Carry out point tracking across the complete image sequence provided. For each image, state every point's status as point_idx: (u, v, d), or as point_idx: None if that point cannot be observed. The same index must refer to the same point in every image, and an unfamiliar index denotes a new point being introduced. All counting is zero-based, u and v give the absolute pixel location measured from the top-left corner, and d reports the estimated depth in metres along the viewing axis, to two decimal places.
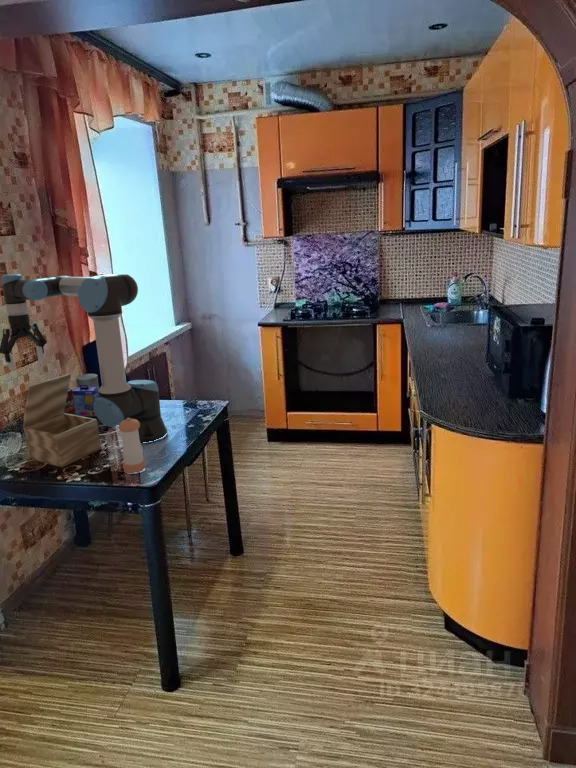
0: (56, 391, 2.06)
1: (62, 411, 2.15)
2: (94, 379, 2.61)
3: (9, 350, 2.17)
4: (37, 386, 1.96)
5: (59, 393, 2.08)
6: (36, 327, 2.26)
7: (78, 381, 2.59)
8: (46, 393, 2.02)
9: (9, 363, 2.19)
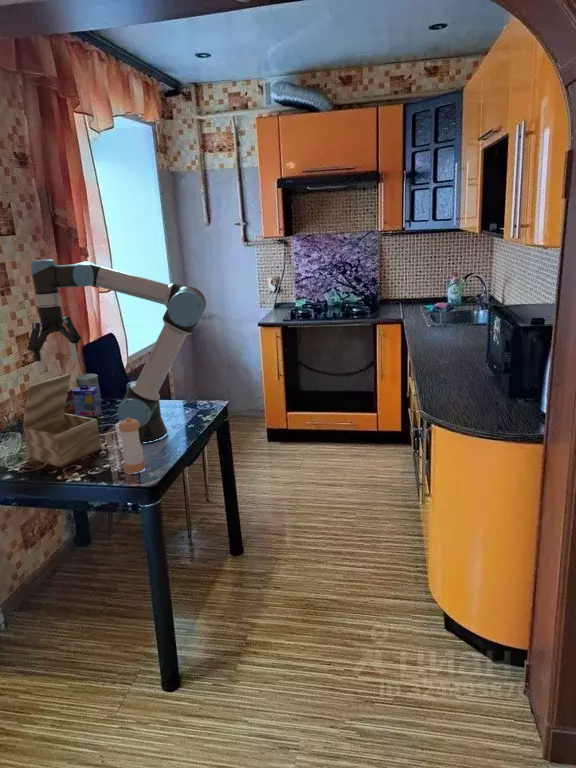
0: (56, 391, 2.06)
1: (62, 411, 2.15)
2: (94, 379, 2.61)
3: (39, 347, 1.89)
4: (37, 386, 1.96)
5: (59, 393, 2.08)
6: (69, 321, 1.98)
7: (78, 381, 2.59)
8: (46, 393, 2.02)
9: (39, 362, 1.91)
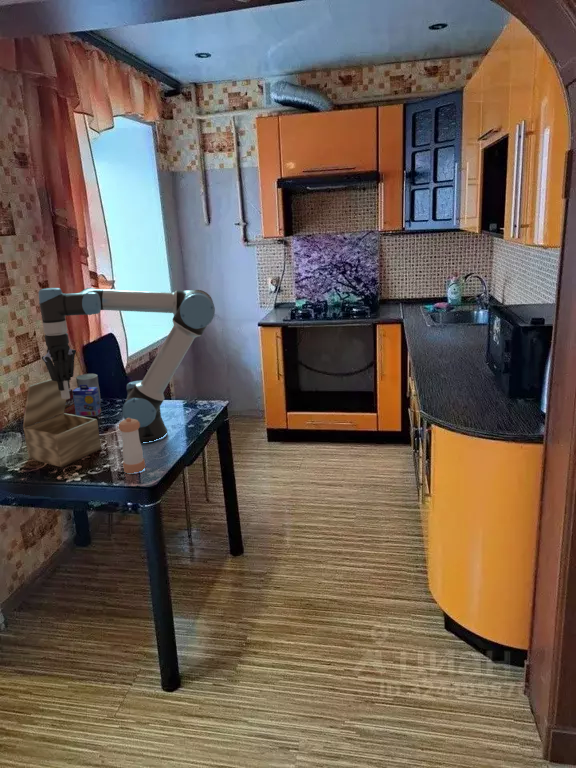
0: (56, 391, 2.06)
1: (62, 411, 2.15)
2: (94, 379, 2.61)
3: (61, 377, 1.94)
4: (37, 386, 1.96)
5: (59, 393, 2.08)
6: (73, 354, 1.98)
7: (78, 381, 2.59)
8: (46, 393, 2.02)
9: (62, 391, 1.97)
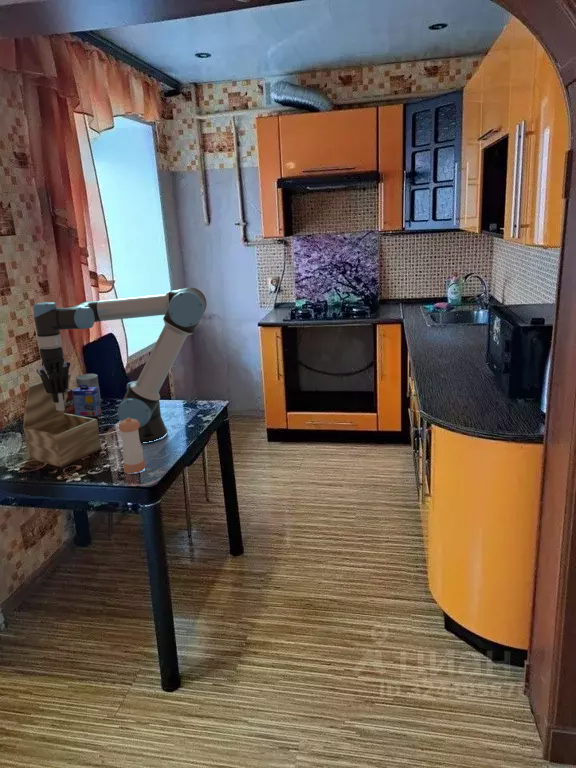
0: None
1: (62, 411, 2.15)
2: (94, 379, 2.61)
3: (56, 389, 1.98)
4: (37, 386, 1.96)
5: None
6: (68, 366, 2.01)
7: (78, 381, 2.59)
8: (46, 393, 2.02)
9: (57, 403, 2.01)
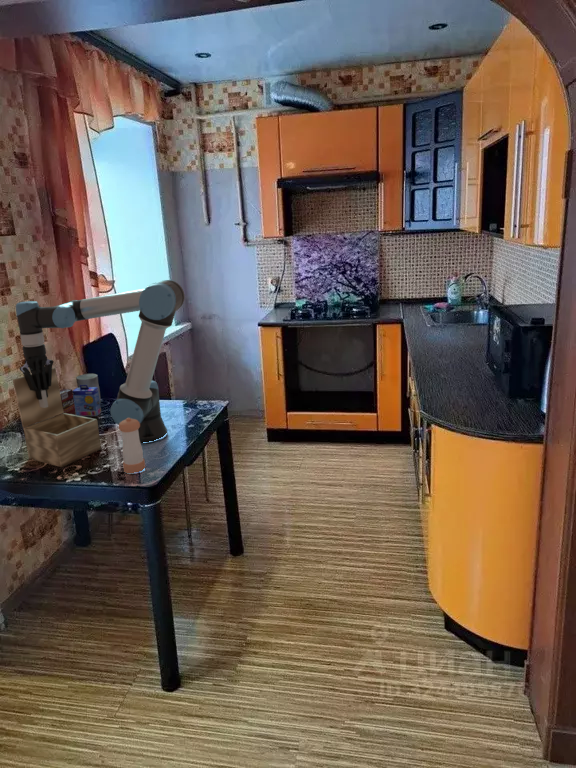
0: None
1: (61, 411, 2.15)
2: (94, 379, 2.61)
3: (39, 387, 2.02)
4: (22, 379, 1.99)
5: (50, 389, 2.10)
6: (51, 364, 2.06)
7: (78, 381, 2.59)
8: None
9: (40, 400, 2.05)
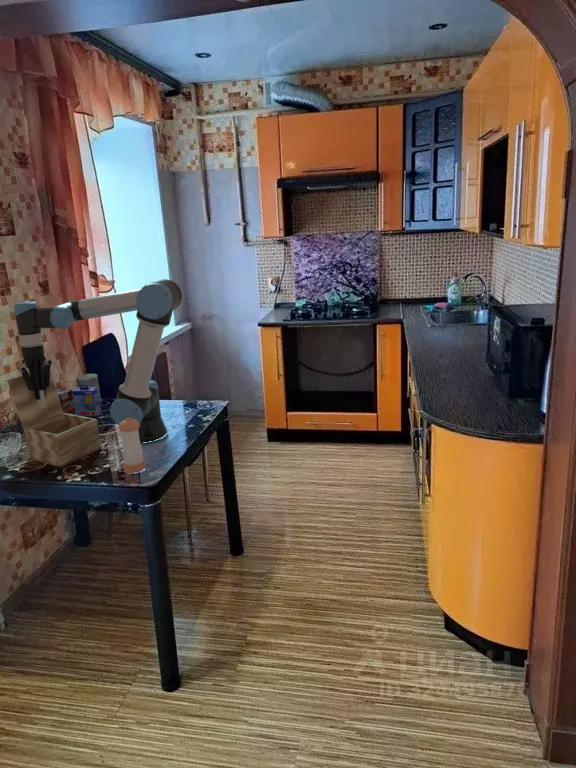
0: None
1: (61, 411, 2.15)
2: (94, 379, 2.61)
3: (37, 387, 2.03)
4: (16, 380, 2.01)
5: (46, 389, 2.11)
6: (49, 364, 2.06)
7: (78, 381, 2.59)
8: None
9: (39, 400, 2.05)
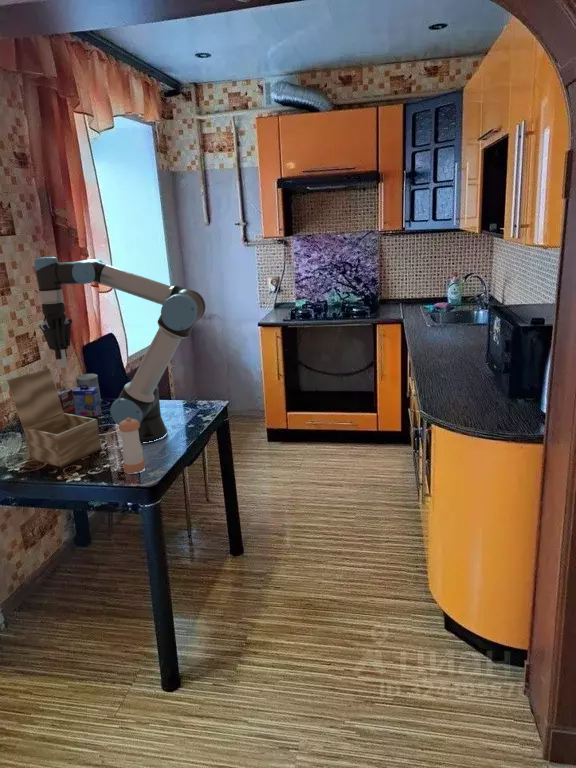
0: (42, 387, 2.09)
1: (61, 411, 2.15)
2: (94, 379, 2.61)
3: (59, 346, 1.97)
4: (16, 380, 2.01)
5: (46, 389, 2.11)
6: (69, 323, 2.01)
7: (78, 381, 2.59)
8: (31, 388, 2.05)
9: (60, 360, 2.00)
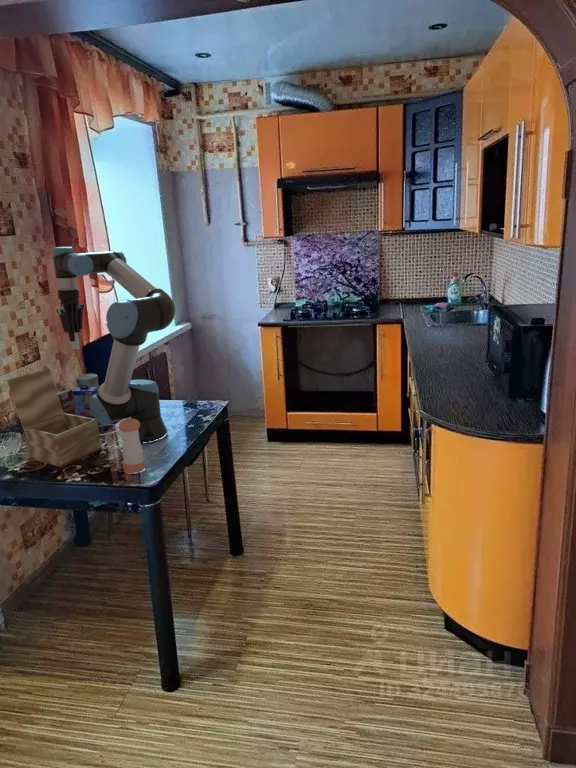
0: (42, 387, 2.09)
1: (61, 411, 2.15)
2: (94, 379, 2.61)
3: (73, 329, 2.14)
4: (16, 380, 2.01)
5: (46, 389, 2.11)
6: (82, 308, 2.18)
7: (78, 381, 2.59)
8: (31, 388, 2.05)
9: (73, 342, 2.17)
